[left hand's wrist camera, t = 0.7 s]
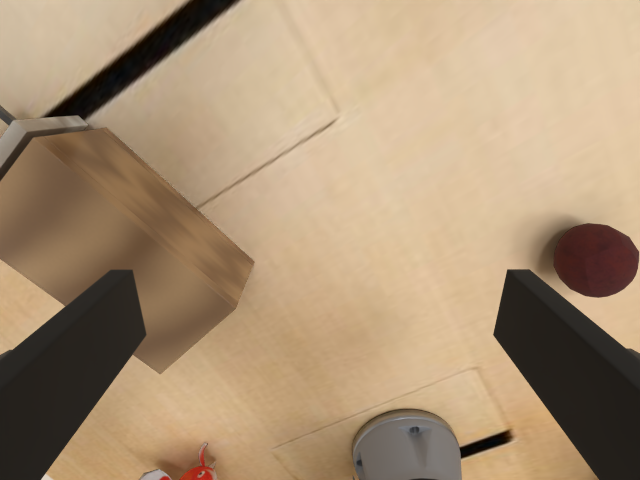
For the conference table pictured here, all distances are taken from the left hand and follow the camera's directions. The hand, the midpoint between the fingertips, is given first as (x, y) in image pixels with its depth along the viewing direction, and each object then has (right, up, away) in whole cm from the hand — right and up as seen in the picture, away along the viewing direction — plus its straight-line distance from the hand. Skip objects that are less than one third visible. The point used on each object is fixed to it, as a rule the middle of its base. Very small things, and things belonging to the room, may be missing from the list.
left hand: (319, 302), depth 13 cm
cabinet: (-19, +3, +28) cm, 33 cm away
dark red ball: (+29, +2, +28) cm, 40 cm away
